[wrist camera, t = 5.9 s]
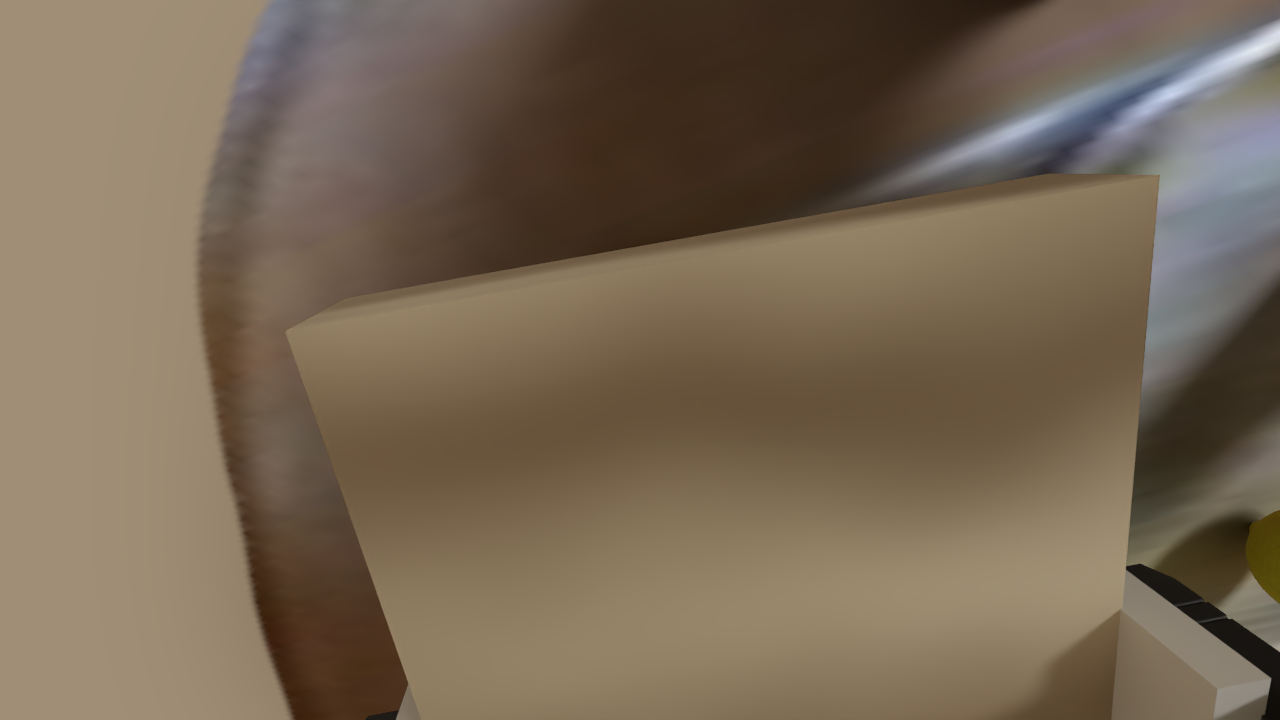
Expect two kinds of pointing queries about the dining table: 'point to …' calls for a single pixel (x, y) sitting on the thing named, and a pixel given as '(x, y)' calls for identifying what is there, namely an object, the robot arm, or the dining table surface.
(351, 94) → the dining table surface
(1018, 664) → the birch board
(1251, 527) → the lemon
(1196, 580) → the dining table surface
